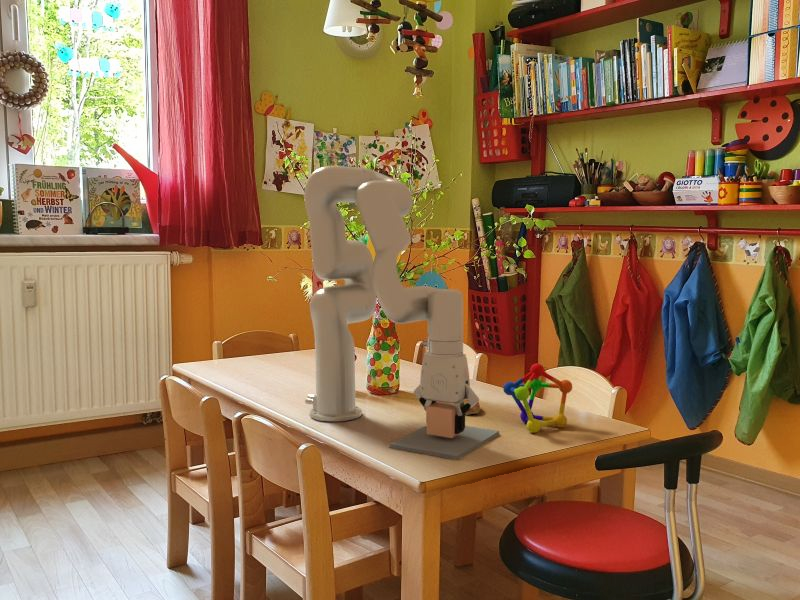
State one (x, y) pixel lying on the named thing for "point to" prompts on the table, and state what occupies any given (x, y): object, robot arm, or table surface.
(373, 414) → the table surface
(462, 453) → the mat
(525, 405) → the educational toy
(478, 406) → the pastry
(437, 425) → the cube
